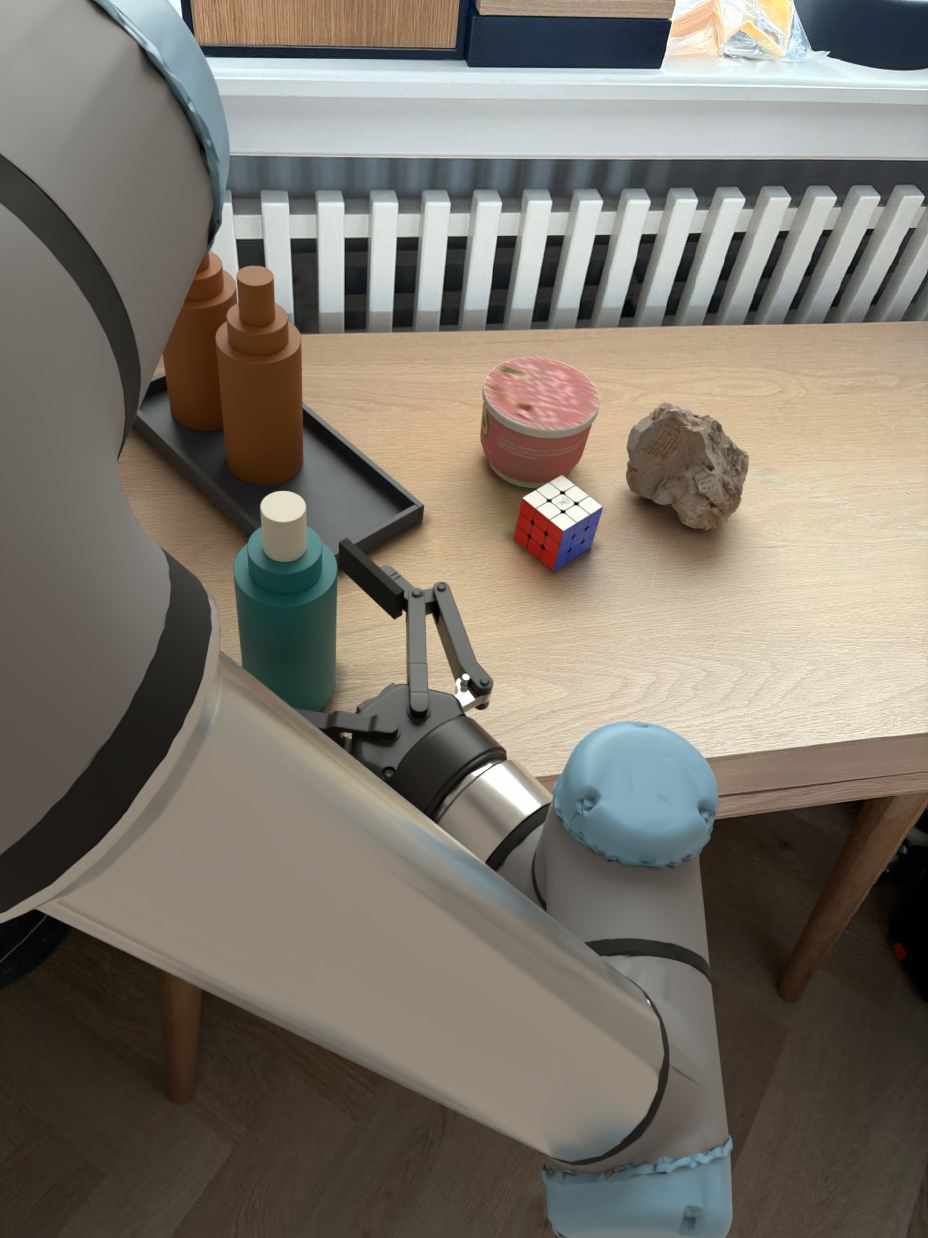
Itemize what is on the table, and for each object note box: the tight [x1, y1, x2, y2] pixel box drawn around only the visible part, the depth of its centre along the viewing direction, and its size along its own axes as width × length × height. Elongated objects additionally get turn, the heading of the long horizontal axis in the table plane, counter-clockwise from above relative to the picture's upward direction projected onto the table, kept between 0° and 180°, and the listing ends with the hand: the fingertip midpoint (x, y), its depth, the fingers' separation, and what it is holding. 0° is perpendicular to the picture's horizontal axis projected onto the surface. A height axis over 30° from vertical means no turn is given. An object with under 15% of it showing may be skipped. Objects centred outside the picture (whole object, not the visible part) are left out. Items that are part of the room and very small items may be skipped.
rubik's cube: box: [513, 475, 604, 572], centre depth 88 cm, size 5×5×5 cm
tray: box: [132, 371, 425, 571], centre depth 92 cm, size 13×28×2 cm, turn 43°
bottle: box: [232, 491, 338, 712], centre depth 71 cm, size 7×7×19 cm
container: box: [479, 356, 601, 489], centre depth 94 cm, size 10×10×8 cm
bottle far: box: [162, 250, 238, 431], centre depth 89 cm, size 7×7×19 cm
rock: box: [625, 402, 750, 531], centre depth 92 cm, size 9×12×10 cm
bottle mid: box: [215, 265, 303, 485], centre depth 85 cm, size 7×7×19 cm
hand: (266, 594), depth 73 cm, fingers open, 13 cm apart
